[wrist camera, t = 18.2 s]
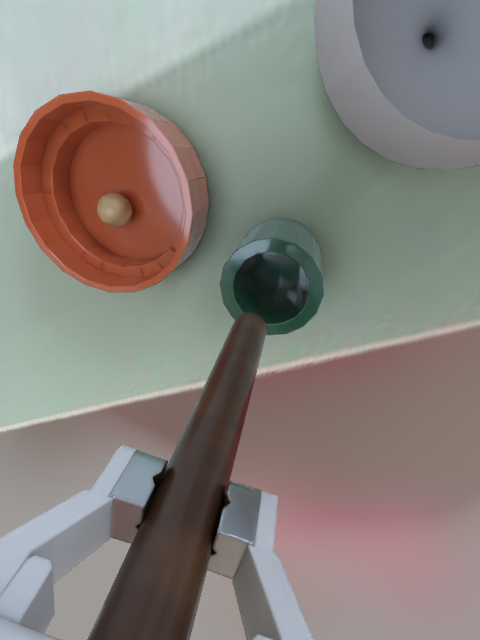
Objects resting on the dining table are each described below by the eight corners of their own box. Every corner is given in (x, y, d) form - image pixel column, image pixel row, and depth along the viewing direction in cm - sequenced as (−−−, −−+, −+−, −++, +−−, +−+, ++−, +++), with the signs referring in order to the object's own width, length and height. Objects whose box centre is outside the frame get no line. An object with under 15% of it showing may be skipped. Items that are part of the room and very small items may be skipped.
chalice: (351, 194, 29) (383, 231, 16) (283, 7, 25) (249, -156, 11) (548, 101, 24) (832, 44, 11) (508, -153, 20) (904, -761, 7)
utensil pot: (332, 231, 31) (338, 255, 24) (305, 306, 34) (303, 346, 27) (250, 208, 31) (232, 225, 24) (232, 284, 35) (211, 319, 28)
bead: (109, 212, 29) (127, 236, 32) (127, 187, 30) (143, 212, 33) (83, 207, 30) (102, 231, 33) (102, 183, 31) (119, 208, 34)
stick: (271, 318, 20) (114, 962, 4) (261, 346, 21) (102, 965, 5) (238, 307, 20) (-43, 895, 4) (230, 336, 21) (-27, 910, 5)
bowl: (225, 126, 29) (208, 121, 24) (195, 290, 36) (177, 312, 31) (55, 81, 30) (5, 68, 25) (59, 250, 37) (20, 265, 32)
